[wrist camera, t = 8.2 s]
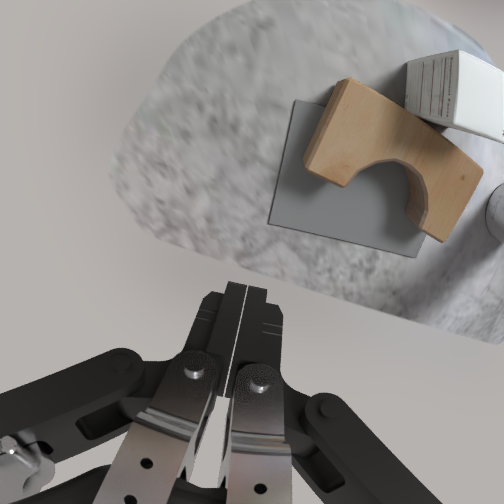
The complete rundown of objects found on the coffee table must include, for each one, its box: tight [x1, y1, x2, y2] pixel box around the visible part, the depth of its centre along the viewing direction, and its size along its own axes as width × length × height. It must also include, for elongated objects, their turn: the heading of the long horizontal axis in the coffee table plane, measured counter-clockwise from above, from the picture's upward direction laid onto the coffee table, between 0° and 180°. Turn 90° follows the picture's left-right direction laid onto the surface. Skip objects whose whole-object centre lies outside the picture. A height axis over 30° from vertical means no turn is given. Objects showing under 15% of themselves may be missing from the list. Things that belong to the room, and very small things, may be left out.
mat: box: [269, 100, 426, 258], centre depth 33 cm, size 22×16×1 cm
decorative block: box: [302, 78, 483, 243], centre depth 29 cm, size 11×6×20 cm
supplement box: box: [404, 50, 504, 144], centre depth 21 cm, size 7×7×13 cm
